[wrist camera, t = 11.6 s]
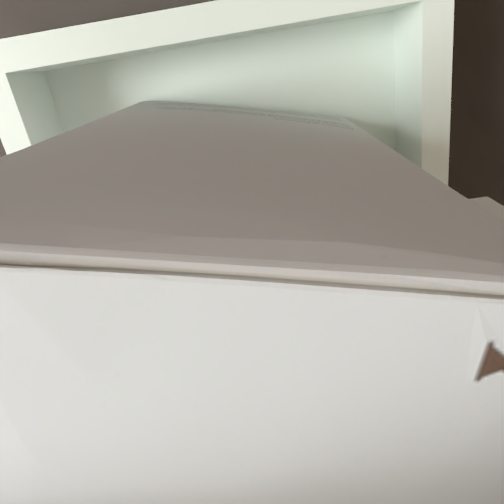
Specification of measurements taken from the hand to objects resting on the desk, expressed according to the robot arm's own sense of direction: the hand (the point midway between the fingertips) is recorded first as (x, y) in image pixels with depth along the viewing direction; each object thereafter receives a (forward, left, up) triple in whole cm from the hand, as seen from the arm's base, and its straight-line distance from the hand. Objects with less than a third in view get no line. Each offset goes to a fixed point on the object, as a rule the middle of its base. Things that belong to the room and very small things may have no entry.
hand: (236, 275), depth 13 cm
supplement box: (0, 0, -8) cm, 8 cm away
